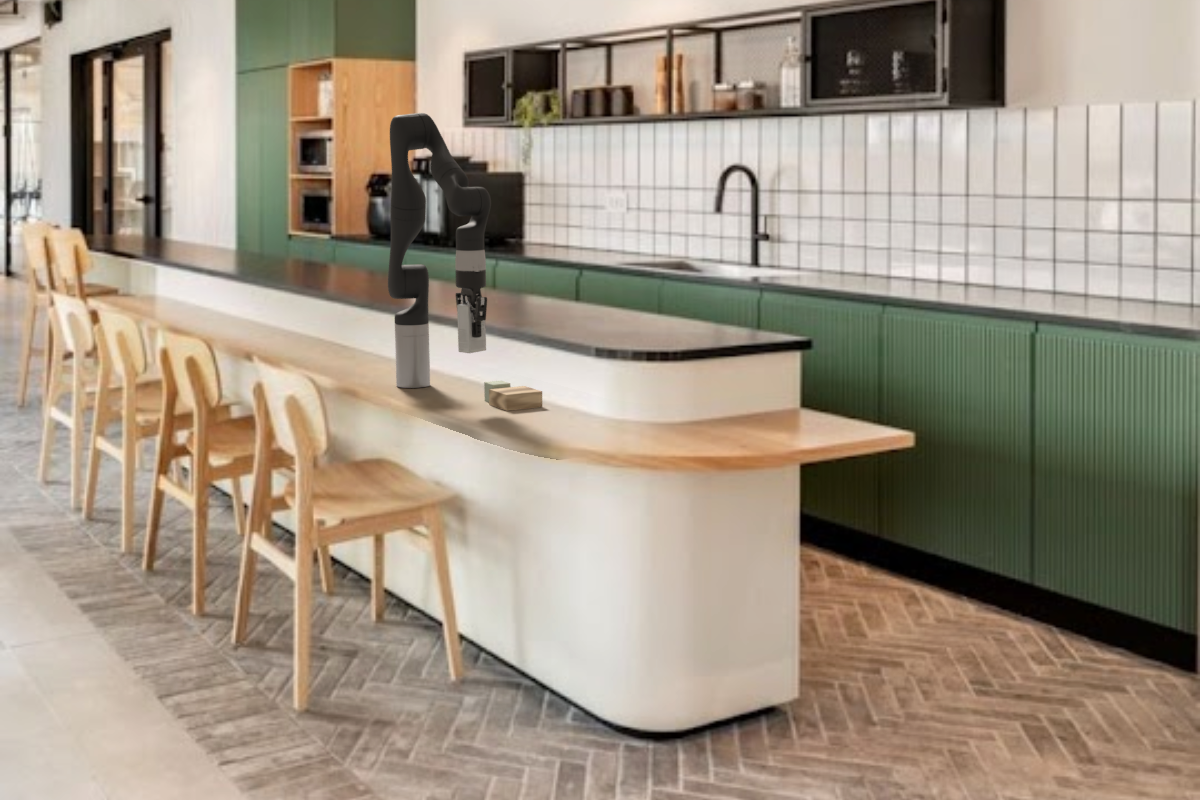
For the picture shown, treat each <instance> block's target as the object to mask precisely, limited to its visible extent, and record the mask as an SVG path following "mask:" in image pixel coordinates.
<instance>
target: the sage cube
mask: <svg viewBox="0 0 1200 800" xmlns="http://www.w3.org/2000/svg"><path fill="white" fill-rule="evenodd" d="M483 384H484V386H483V387H484V388H483V390H484V401H485V402H487V403H489V389H497V388H508V387H511V383H510V382H508V381H504V380H494V381H493V380H492V381H484V383H483Z"/></svg>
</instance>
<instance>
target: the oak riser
mask: <svg viewBox="0 0 1200 800" xmlns="http://www.w3.org/2000/svg"><path fill="white" fill-rule="evenodd" d="M488 403H489V406H491V407H495V408H498V409H501V410H504V411H507V412H508V411H518V410H526V409H527V410H528V409H537V408H543V391H541V390H539V389H536V388H532V387H530V386H529V387H528V386H527V385H518V386H510V387H508V388H497V389H489V402H488Z"/></svg>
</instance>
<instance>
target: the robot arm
mask: <svg viewBox="0 0 1200 800" xmlns="http://www.w3.org/2000/svg"><path fill="white" fill-rule="evenodd" d="M389 146H390V161H391V165H390V166H391V191H390V192H391V194H390V246H389V248H390V251H389V260H388V261H389V262H388V270H387V271H388V273H387V289H388V294H389V295H390V298H392V299H395V300H404V299H405V300H406V299H407V300H408V299H409V300H410V299H412V300H413V299H415V301H414V303H413V304H412V305H411V306H409V307H406V308H405V309H402V310H400V311H398V312H396V313H395V314H394V337H395V338H394V339H395V342H394V343H395V344H394V345H395V379H396V380H395V381H396V382H395V383H396V384H395V385H396V387H398V388H406V389H411V388H412V389H414V388H415V389H417V388H419V389H420V388H425V387H430V386H431V362H430V361H431V360H430V359H431V358H430V326H429V324H430V323H429V321H430V320H429V292H430V289H429V288H430V281H429V280H430V279H429V278H430V275H429V270H428V268H427V267H426V265H425V264H421V263H419V264H403V261H404V260H405V255H406V253H407V252H408V251H407V250H408V249H409V247H410V245H411V244H412V243H413V242H414V240H415V239H416V237H417V236H418V235H419V233H420V232H421V230H422V229H423V227H424V224H425V222H426V214H427V213H426V212H427V211H426V210H427V208H426V207H427V203H426V202H427V201H426V200H427V199H426V194H425V192H424V190H423V188H422V187H421V185H420V183H419V182H418V180H417V179H416V178H415V176H414V174H413V172H412V170H411V167H410V164H409V151H417V150H424V149H427V150H428V151H430V153H431V159H430V167H429V168H430V173H431V175H432V178H433V179H434V180H435V182H436V183H437V185H438V186H439V187H440V189H441V190H442V191H443V195H444V197H445V201H446V204H447V208H448V210H449V211H450V212H451V213H452V214H454V215H455V216H458V217H469V216H471V217H470V219H469V222H468V223H467V224H464V225H461V226H459V227H457V228H456V231H455V250H456V251H455V258H454V259H455V263H454V264H455V269H454V270H455V287H456V288H458V289H461V290H460V292H455V303H456V306H457V305H459V304H467V305H469V306H470V313H471V316H472V322H473V323H472V337H474V338H478V337H481V322H483V320H485V321H486V319H487V308H488V307H487V306H488V297H487V296H482V290H481V289H482V288H485V287H487V286H486V285H487V269H486V268H487V267H486V265H487V264H486V263H487V262H486V261H487V260H486V259H487V258H486V252H485V231H486V226H487V223H488V219H489V215H490V211H491V206H492V200H491V195H490V193H489V192H488V190H487V189H486V188H485V187H483V186H469V184H470V182H469V178H468V176H467V174H466V172H465V171H464V170H463V169H462V167H461V166H460V165H459V164H458V163H457V161H456V160H455V159H454V157H453V156H452V154H451V152H450V150H449V148H448V146H447V144H446V142H445V140H444V138H443V136H442V134H441V132H440V130H439V128H438V126H437V124H436V123H435V120H434V119H433V118H432V117H431V116H430V115H429V114H427V113H424V112H417V113H406V114H398V115H394V117H392V119H391V121H390V124H389ZM471 305H472V306H471ZM472 307H473V308H476V310H473V309H472Z"/></svg>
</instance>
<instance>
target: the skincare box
mask: <svg viewBox="0 0 1200 800" xmlns="http://www.w3.org/2000/svg"><path fill="white" fill-rule="evenodd" d="M471 306H472V305H471ZM472 309H473V310H476V308H473V307H472ZM456 312H457V314H456V315H457V343H458V345H457V347H458V352H459V353H462V354H463V353H465V354H473V353H479V352H480V353H481V352H484V351H487V335H486V333H487V331H486V330H487V329H486V320H483V322H481V337H478V338H474V337H472V323H473V322H472V316H471V313H470V306H469V305H467V304H459V305H456Z"/></svg>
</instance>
